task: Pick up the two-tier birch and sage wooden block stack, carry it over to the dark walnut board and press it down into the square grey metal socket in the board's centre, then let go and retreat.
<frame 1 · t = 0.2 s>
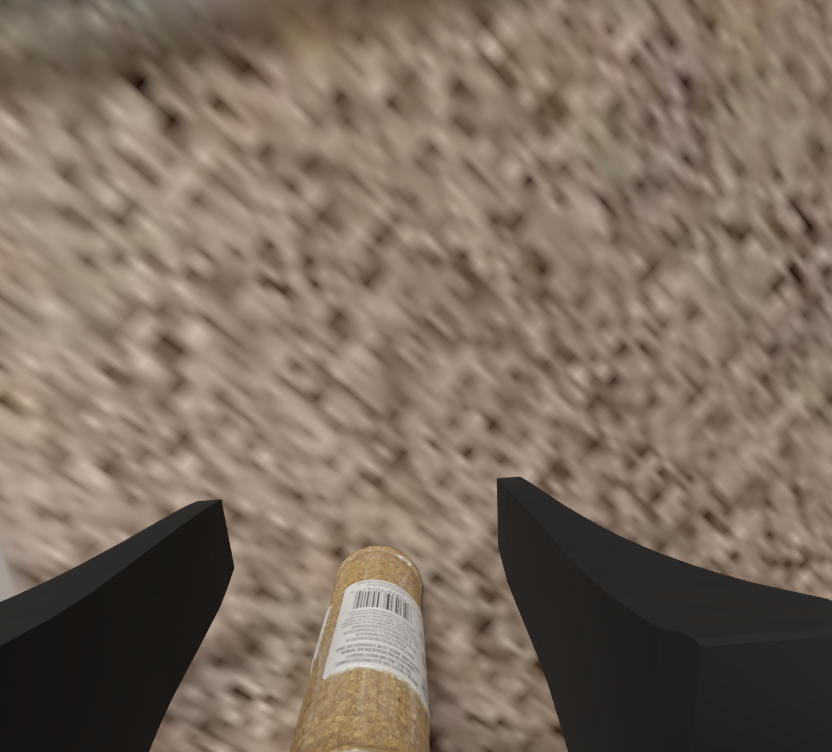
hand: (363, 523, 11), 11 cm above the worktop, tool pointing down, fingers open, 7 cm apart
sprinkles bottle: (379, 582, 23), on the worktop
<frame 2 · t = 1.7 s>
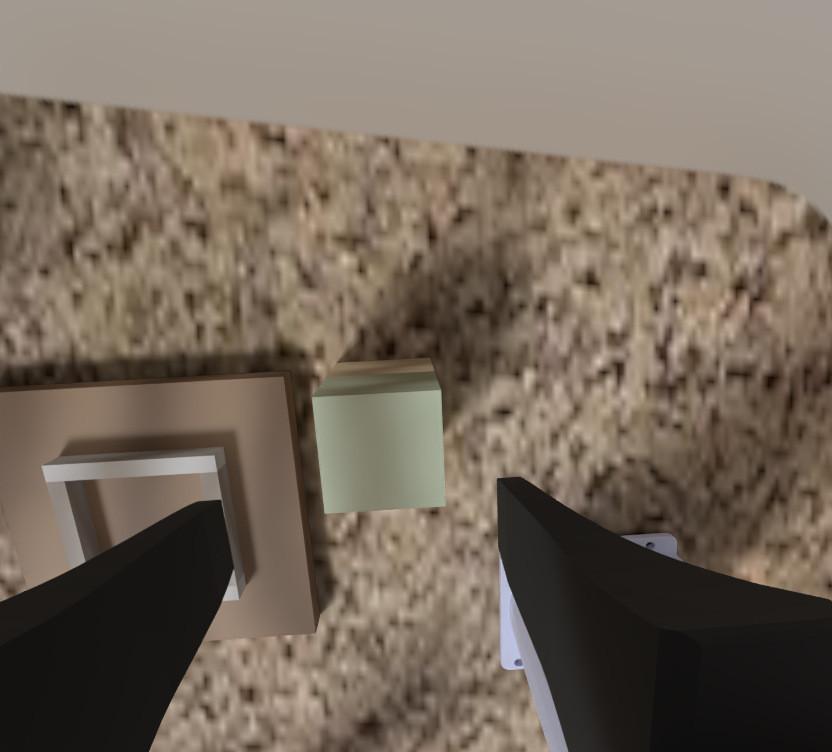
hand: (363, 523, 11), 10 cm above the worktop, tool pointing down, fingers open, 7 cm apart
walnut board: (169, 510, 22), on the worktop
block stack: (386, 404, 21), on the worktop
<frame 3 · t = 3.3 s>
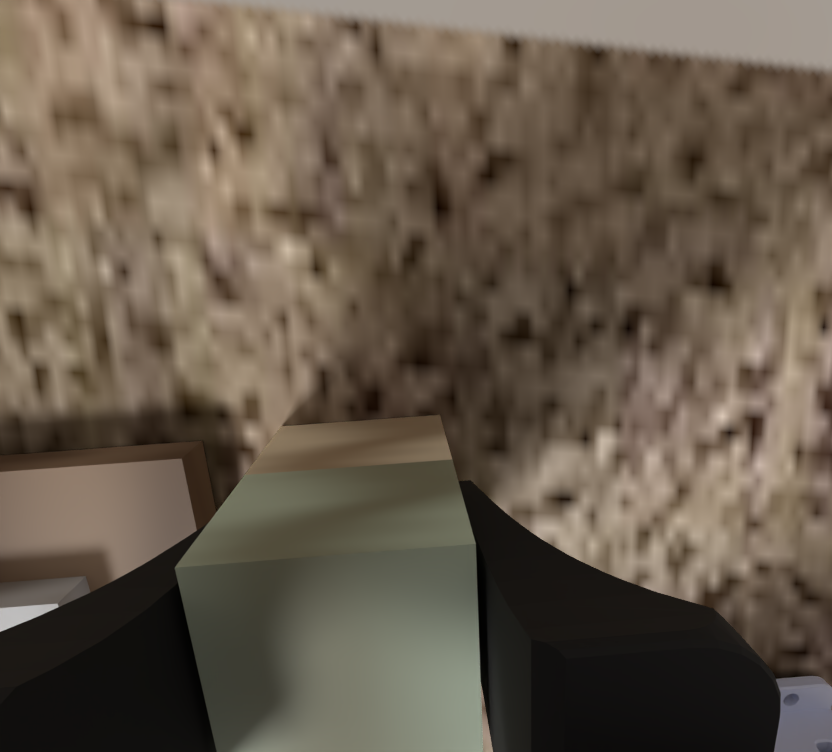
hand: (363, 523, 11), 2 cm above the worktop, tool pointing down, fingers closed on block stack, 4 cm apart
walnut board: (20, 662, 14), on the worktop
block stack: (368, 492, 13), on the worktop, touching gripper
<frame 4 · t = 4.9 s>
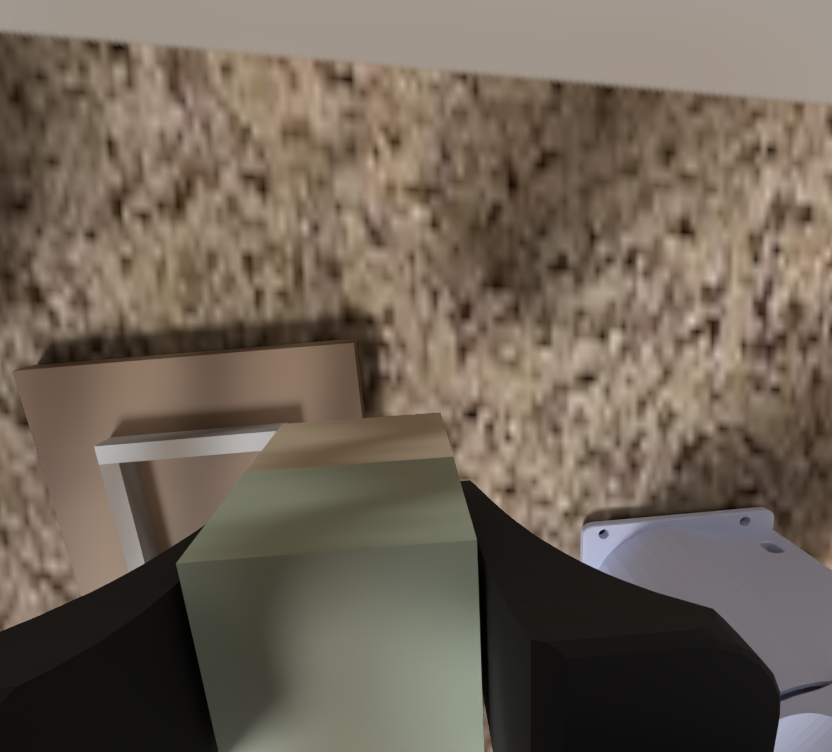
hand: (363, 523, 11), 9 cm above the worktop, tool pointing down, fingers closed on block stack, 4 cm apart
walnut board: (226, 495, 21), on the worktop
block stack: (368, 490, 13), point 7 cm above the worktop, touching gripper
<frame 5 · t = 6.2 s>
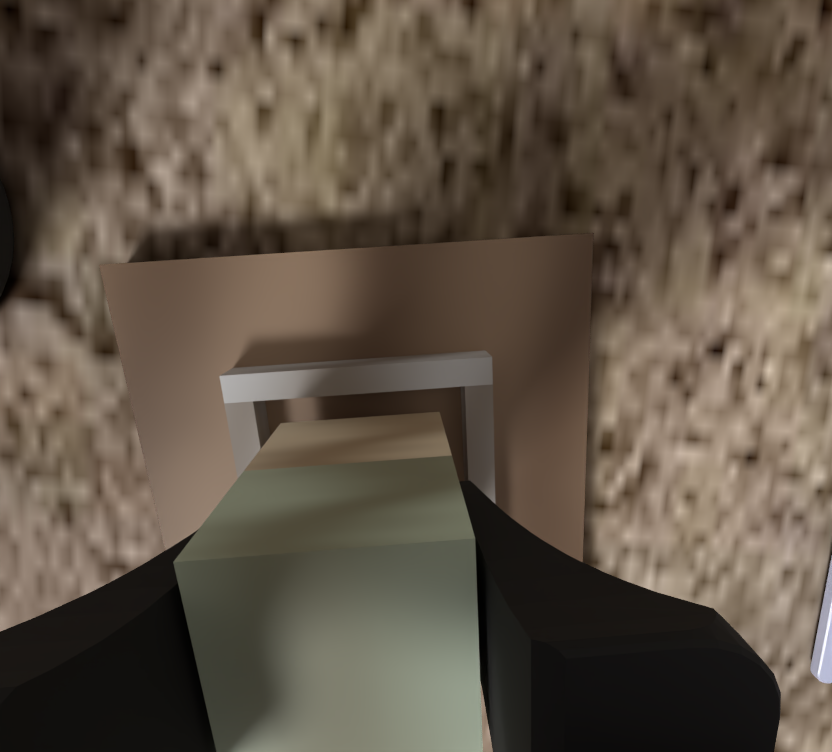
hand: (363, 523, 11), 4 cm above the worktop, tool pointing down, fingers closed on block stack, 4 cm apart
walnut board: (373, 458, 15), on the worktop
block stack: (367, 489, 13), point 2 cm above the worktop, touching gripper
when the fingers open (3 cm above the worktop, at t = 7.0 s): block stack stays where it is, resting on walnut board.
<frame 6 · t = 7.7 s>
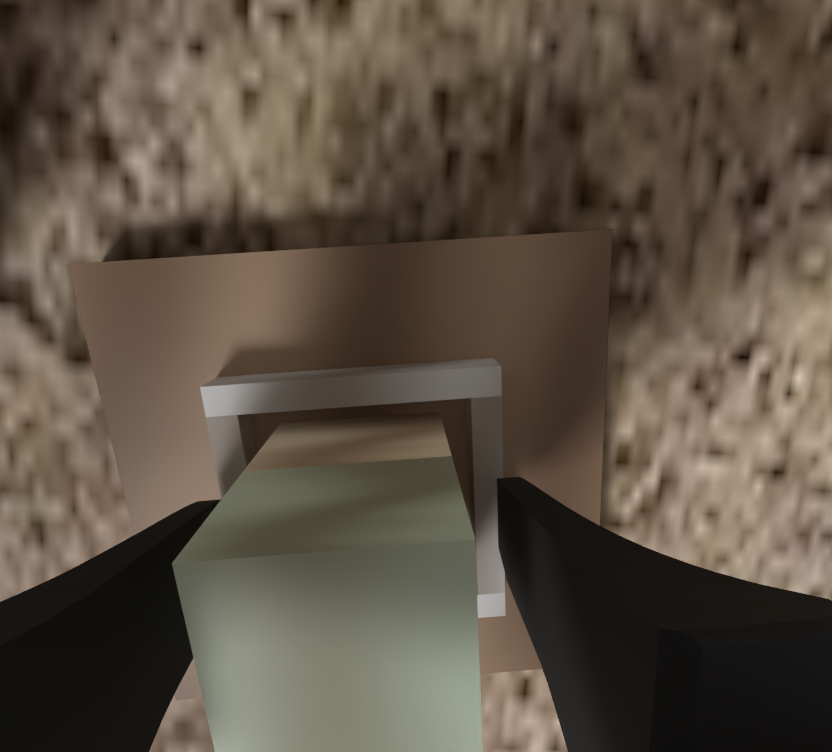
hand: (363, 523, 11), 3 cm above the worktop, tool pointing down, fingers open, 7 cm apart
walnut board: (370, 474, 14), on the worktop
block stack: (367, 489, 13), point 1 cm above the worktop, touching walnut board
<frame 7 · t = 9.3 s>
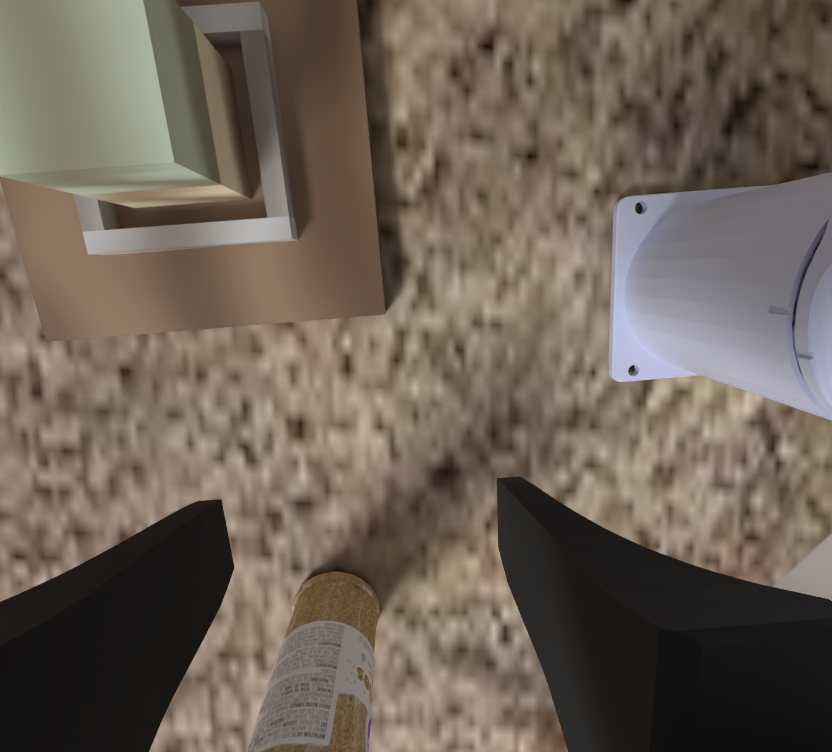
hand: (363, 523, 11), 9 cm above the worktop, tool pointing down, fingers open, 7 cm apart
walnut board: (196, 151, 17), on the worktop
sprinkles bottle: (337, 600, 23), on the worktop
block stack: (181, 140, 16), point 1 cm above the worktop, touching walnut board
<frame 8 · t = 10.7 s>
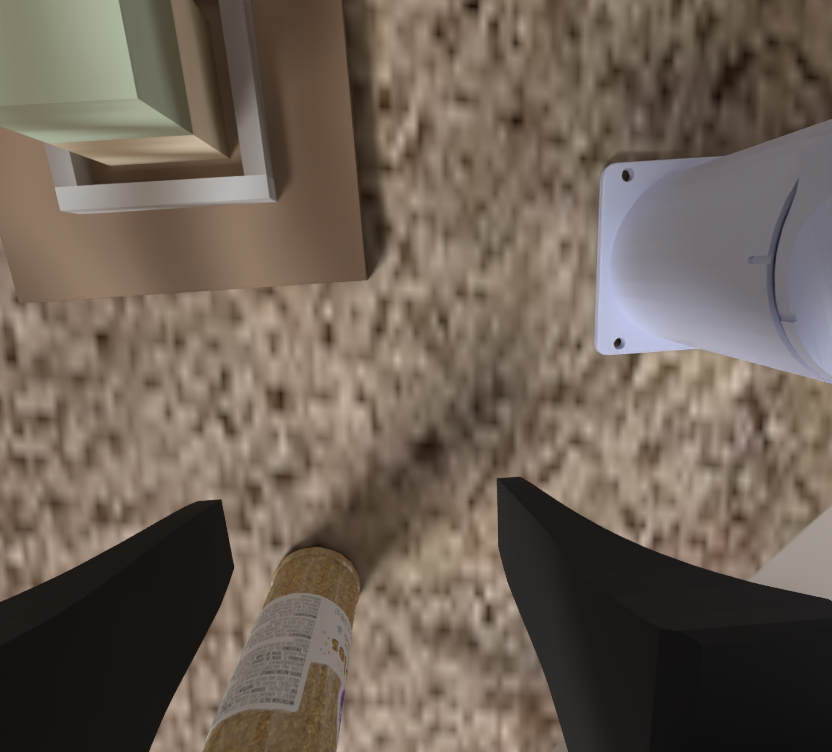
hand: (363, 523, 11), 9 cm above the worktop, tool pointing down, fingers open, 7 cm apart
walnut board: (175, 110, 17), on the worktop
sprinkles bottle: (317, 577, 23), on the worktop
block stack: (157, 95, 16), point 1 cm above the worktop, touching walnut board
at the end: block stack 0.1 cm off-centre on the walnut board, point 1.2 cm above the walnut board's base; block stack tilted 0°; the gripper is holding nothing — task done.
